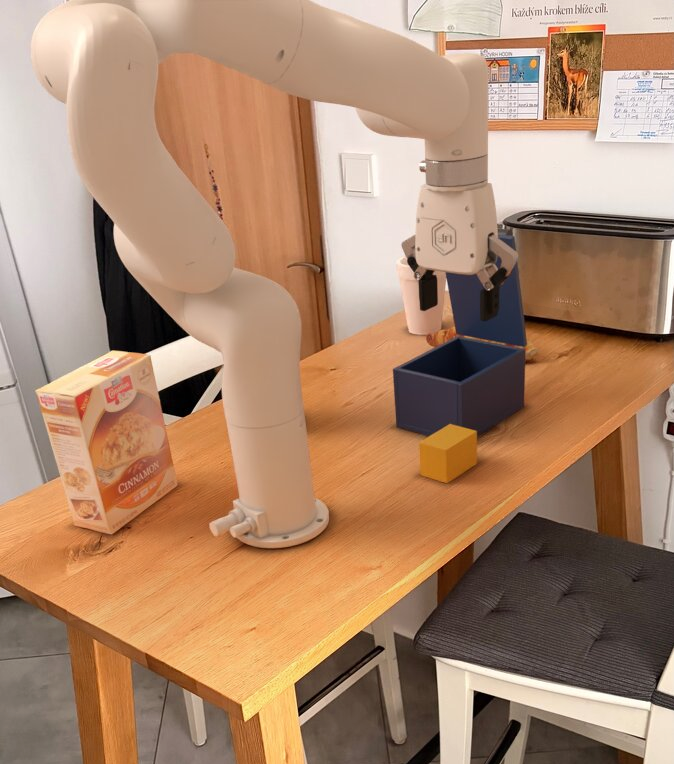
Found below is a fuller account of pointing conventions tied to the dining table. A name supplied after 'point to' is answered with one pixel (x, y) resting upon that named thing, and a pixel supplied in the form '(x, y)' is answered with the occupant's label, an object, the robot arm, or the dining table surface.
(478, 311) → the lid
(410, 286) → the foam cup
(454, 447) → the cheese block
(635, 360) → the dining table surface
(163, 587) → the dining table surface
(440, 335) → the croissant
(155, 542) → the dining table surface
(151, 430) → the coffeecake box
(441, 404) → the cool box
